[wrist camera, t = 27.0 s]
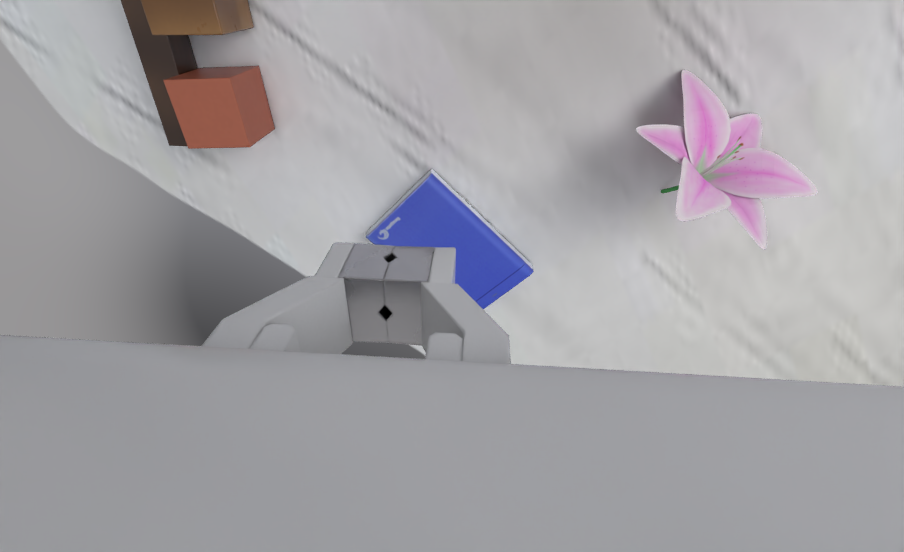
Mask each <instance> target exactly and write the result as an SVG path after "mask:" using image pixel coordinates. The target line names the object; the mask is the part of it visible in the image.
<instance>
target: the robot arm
mask: <svg viewBox="0 0 904 552" xmlns="http://www.w3.org/2000/svg"><path fill="white" fill-rule="evenodd" d="M455 267H456V249H455V247H435V248H434V247H412V246H390V245H375V244H360V243H356V244H355V243H342V242H336V243H334V244H333V245H332V246H331V248H330V250H329V252H328V253H327V255H326V257H325V259H324V260H323V262H322V264H321V266H320V267H319V269H318V271H317V273H316V274H315V276H308V277H306V278H304V279H302V280H300V281H298V282H296V283H294V284H292V285H290V286H288V287H286V288H284V289H282V290H280V291H278V292H276V293H274V294H272V295H270V296H268V297H266V298H264V299H262V300H260V301H258V302H256V303H254V304H252V305H250V306H248V307H246V308H244V309H242V310H240V311H238V312H236V313H234V314H232V315H230V316H228V317H226V318H224V319H222V320H221V322H220V323H219V324H218V326H217V327H216V328H215V329H214V331H213V332H212V333H211V335H210V336H209V337H208V339H207V340H206V341H205V343H204V344H203V345H202V346H186V345H169V344H151V343H134V342H114V341H99V340H81V339H79V340H78V339H63V338H46V337H29V336H11V335H0V552H904V387H903V386H885V385H868V384H850V383H832V382H814V381H797V380H780V379H762V378H745V377H728V376H711V375H693V374H676V373H659V372H641V371H624V370H607V369H589V368H572V367H554V366H537V365H519V364H511V359H510V344H509V335H508V334H507V333H506V332H505V331H504V330H503V329H502V328H501V327H500V326H499V325H498V324H497V323H496V322H495V321H494V320H493V319H492V318H491V317H490V316H489V315H488V314H487V313H486V312H485V311H484V310H483V309H482V308H481V307H480V306H479V305H478V304H477V303H476V302H475V301H474V300H473V299H472V298H471V297H470V296H469V295H468V294H467V293H466V292H465V291H464V290H463V289H462V288H461V287H460V286H459V285H458V284H455ZM353 342H383V343H399V344H410V345H422V346H423V349H424V350H425V352H426V356H425V359H414V358H413V359H412V358H395V357H378V356H360V355H343V354H341V353H342V352H343V351H345V350H346V349H347V348H348V347H349V346H350V345H351V344H353Z"/></svg>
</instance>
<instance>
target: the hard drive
mask: <svg viewBox="0 0 904 552" xmlns="http://www.w3.org/2000/svg"><path fill="white" fill-rule="evenodd" d="M366 238H367V239H369V240H370V241H371V242H372V243H373V244H375V245H390V246H412V247H434V248H435V247H455V249H456V267H455V284H458V285H459V286H460V287H461V288H462V289H463V290H464V291H465V292H466V293H467V294H468V295H469V296H470V297H471V298H472V299H473V300H474V301H475V302H476V303H477V304H478V305H479V306H480V307H481V308H482V309H484V308H486V307H487V306H488V305H490V304H491V303H493V302H494V301H495V300H497V299H498V298H499V297H501V296H502V295H504V294H505V293H506V292H508V291H509V290H511V289H512V288H513V287H515V286H516V285H517V284H519V283H520V282H522V281H523V280H524V279H526V278H527V277H528V276H530V275H531V274H532V273H533V265H532V264H531V263H530V262H529V261H528V260H527V259H526V258H525V257H524V256H523V255H522V254H520V253H519V252H518V251H517V250H516V249H515V248H514V247H513V246H512V245H511V244H510V243H509V242H508V241H507V240H506V239H505V238H504V237H503V236H502V235H501V234H500V233H499V232H497V231H496V230H495V229H494V228H493V227H492V226H491V225H490V224H489V223H488V222H487V221H486V220H485V219H484V218H483V217H482V216H481V215H480V214H479V213H478V212H477V211H476V210H475V209H473V208H472V207H471V206H470V205H469V204H468V203H467V202H466V201H465V200H464V199H463V198H462V197H461V196H460V195H459V194H458V193H457V192H456V191H455V190H453V189H452V188H451V187H450V186H449V185H448V184H447V183H446V182H445V181H444V180H443V179H442V178H441V177H440V176H439V175H438V174H437V173H436V172H435V171H434V170H433V169H431V170H430V171H429V172H428V173H427V174H425V175H424V176H423V177H422V178H421V179H420V180H419V181H418V182H417V183H416V184H415V185H414V186H413V187H412V188H411V189H410V190H409V191H408V192H407V193H406V194H405V195H404V196H403V197H402V198H401V199H400V200H399V201H398V202H397V203H396V204H395V205H394V206H393V207H392V208H391V209H390V210H389V211H388V212H387V213H385V214H384V215H383V216H382V217H381V218H380V219H379V220H378V221H377V222H376V223H375V224H374V225H373V226H372V227H371V228H370V230H369V231H368V233H367V235H366Z"/></svg>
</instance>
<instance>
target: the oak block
mask: <svg viewBox="0 0 904 552" xmlns="http://www.w3.org/2000/svg"><path fill="white" fill-rule="evenodd" d="M141 3H142V6H143V9H144V12H145V15H146V18H147V21H148V23H149V26H150V29H151V32H152V35H224V34H228V33H232V32H237V31H241V30H245V29H249V28H253V22H252V17H251V13H250V9H249V4H248V0H141Z"/></svg>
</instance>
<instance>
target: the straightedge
mask: <svg viewBox="0 0 904 552" xmlns="http://www.w3.org/2000/svg"><path fill="white" fill-rule="evenodd" d="M121 2H122V5H123V8H124V11H125V14H126V17H127V20H128V23H129V26H130V29H131V32H132V35H133V38H134V41H135V44H136V47H137V50H138V53H139V56H140V59H141V62H142V65H143V68H144V71H145V74H146V77H147V80H148V83H149V86H150V89H151V92H152V95H153V98H154V101H155V104H156V107H157V110H158V113H159V116H160V119H161V122H162V125H163V128H164V131H165V134H166V137H167V140H168V143H169V145H171V146H187V143H186V140H185V138H184V135H183V132H182V130H181V127H180V124H179V122H178V119H177V116H176V113H175V111H174V108H173V105H172V103H171V100H170V97H169V94H168V92H167V89H166V86H165V84H164V81H163V80H165V79H168V78H171V77H174V76H177V75H180V74H183V73H186V72H189V71H192V70H195V69H197V66H196V63H195V59H194V55H193V52H192V48H191V44H190V41H189V37H188V35H152V32H151V29H150V26H149V23H148V21H147V18H146V15H145V12H144V9H143V6H142V3H141V0H121Z"/></svg>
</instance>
